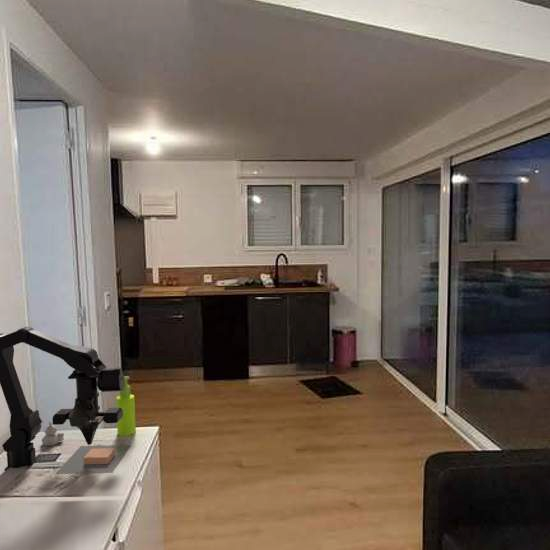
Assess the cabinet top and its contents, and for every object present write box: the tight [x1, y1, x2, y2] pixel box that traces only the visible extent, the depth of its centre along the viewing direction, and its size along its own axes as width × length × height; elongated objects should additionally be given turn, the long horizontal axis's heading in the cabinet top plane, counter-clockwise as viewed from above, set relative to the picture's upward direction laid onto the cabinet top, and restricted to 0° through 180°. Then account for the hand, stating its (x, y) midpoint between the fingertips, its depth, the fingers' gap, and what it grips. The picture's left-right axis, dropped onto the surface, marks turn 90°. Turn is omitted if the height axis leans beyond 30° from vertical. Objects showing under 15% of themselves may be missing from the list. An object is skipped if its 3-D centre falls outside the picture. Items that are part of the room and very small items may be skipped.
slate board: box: [54, 444, 132, 475], centre depth 139 cm, size 16×18×1 cm
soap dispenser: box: [115, 375, 137, 437], centre depth 158 cm, size 6×7×20 cm
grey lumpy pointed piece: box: [41, 421, 65, 447], centre depth 151 cm, size 5×7×8 cm
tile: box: [84, 448, 115, 464], centre depth 138 cm, size 2×6×7 cm
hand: (89, 444), depth 138 cm, fingers closed
